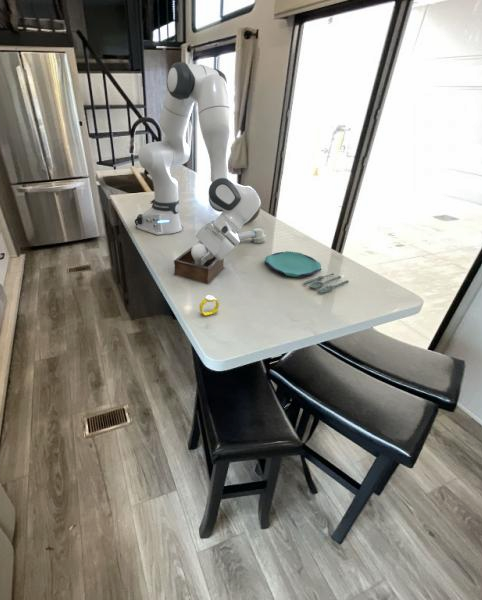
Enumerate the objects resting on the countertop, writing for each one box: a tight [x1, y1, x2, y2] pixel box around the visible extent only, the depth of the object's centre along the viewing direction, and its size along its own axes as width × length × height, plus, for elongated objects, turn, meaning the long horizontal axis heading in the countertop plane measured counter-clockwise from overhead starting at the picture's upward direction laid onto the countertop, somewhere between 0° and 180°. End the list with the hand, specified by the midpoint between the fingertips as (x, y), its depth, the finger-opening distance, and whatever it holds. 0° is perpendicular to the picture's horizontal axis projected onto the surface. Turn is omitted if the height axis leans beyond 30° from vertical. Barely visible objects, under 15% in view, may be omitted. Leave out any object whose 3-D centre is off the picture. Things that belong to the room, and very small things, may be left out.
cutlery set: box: [264, 250, 350, 294], centre depth 119 cm, size 20×30×2 cm, turn 28°
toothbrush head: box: [237, 227, 267, 244], centre depth 141 cm, size 5×7×25 cm
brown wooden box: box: [173, 246, 225, 285], centre depth 118 cm, size 14×14×6 cm
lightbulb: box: [191, 243, 209, 267], centre depth 116 cm, size 6×6×11 cm
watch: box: [198, 294, 220, 316], centre depth 95 cm, size 6×3×6 cm, turn 114°
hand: (198, 257), depth 116 cm, fingers closed on lightbulb, 6 cm apart
